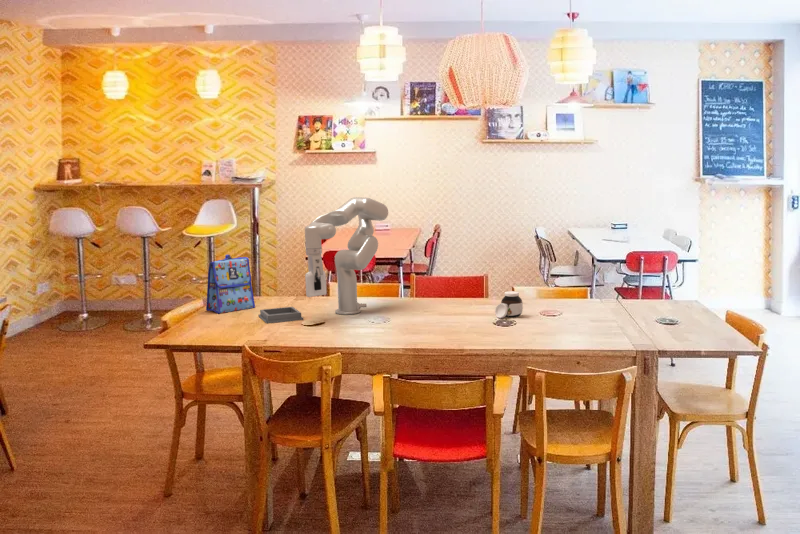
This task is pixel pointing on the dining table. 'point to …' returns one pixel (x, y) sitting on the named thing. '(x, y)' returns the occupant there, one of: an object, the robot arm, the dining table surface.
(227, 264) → the lunch bag
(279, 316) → the tray
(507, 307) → the spread jar
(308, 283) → the photo printer
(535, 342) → the dining table surface
